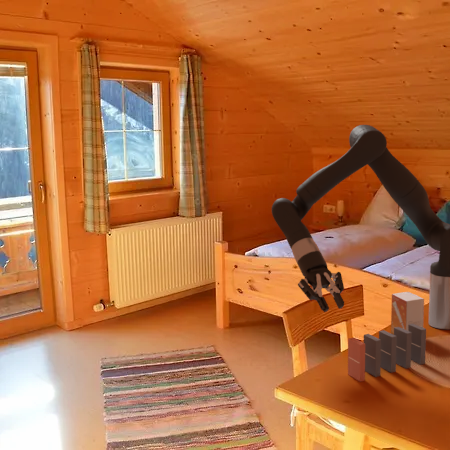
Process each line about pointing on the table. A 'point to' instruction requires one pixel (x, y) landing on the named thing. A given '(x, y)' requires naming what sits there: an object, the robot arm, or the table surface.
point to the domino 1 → (356, 359)
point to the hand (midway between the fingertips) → (334, 308)
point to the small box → (406, 310)
